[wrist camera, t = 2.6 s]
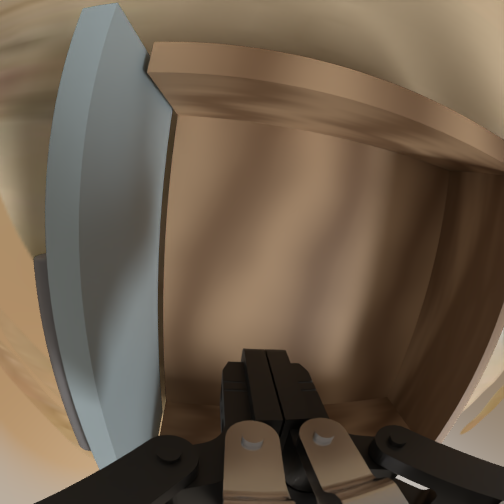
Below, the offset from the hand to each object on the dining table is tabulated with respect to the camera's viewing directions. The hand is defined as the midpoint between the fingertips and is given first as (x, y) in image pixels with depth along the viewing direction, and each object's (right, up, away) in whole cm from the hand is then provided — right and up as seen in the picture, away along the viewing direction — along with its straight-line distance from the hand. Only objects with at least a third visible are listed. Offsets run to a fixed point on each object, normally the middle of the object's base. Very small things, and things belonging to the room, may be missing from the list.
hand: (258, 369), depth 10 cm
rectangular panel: (-7, +3, +7) cm, 10 cm away
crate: (+4, +2, +10) cm, 11 cm away
